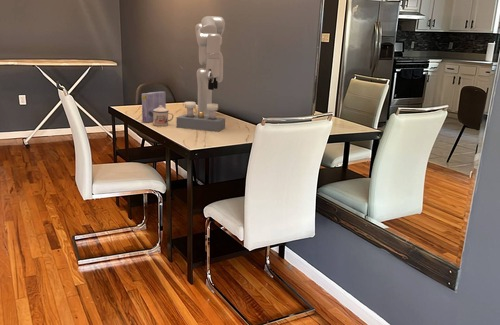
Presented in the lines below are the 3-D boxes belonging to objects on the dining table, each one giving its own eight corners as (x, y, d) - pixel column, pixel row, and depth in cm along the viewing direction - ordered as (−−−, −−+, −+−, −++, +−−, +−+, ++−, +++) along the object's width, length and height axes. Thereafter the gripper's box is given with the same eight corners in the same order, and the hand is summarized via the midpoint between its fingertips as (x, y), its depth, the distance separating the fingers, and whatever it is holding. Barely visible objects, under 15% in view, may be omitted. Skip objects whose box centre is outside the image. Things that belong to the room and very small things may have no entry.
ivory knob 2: (209, 118, 272) (209, 103, 270) (219, 119, 271) (219, 104, 268) (205, 120, 266) (205, 104, 264) (215, 121, 265) (215, 105, 262)
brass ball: (199, 117, 272) (199, 111, 271) (205, 117, 271) (205, 111, 270) (197, 117, 269) (197, 112, 268) (202, 118, 268) (202, 112, 267)
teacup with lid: (153, 126, 269) (153, 106, 266) (152, 123, 278) (152, 104, 275) (174, 126, 273) (174, 106, 269) (172, 123, 281) (172, 104, 278)
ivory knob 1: (187, 116, 276) (187, 101, 274) (197, 117, 274) (197, 102, 272) (182, 117, 270) (182, 102, 268) (192, 118, 268) (193, 103, 266)
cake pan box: (161, 117, 297) (160, 90, 292) (167, 118, 295) (167, 91, 290) (141, 122, 280) (140, 93, 275) (147, 123, 278) (147, 94, 273)
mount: (185, 123, 281) (185, 114, 279) (225, 128, 274) (225, 118, 272) (176, 127, 270) (176, 117, 268) (218, 131, 263) (218, 121, 261)
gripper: (212, 55, 268) (212, 87, 273) (201, 56, 252) (201, 90, 257) (224, 56, 266) (224, 88, 271) (214, 57, 250) (213, 91, 255)
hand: (212, 88), depth 264 cm, fingers open, 5 cm apart
